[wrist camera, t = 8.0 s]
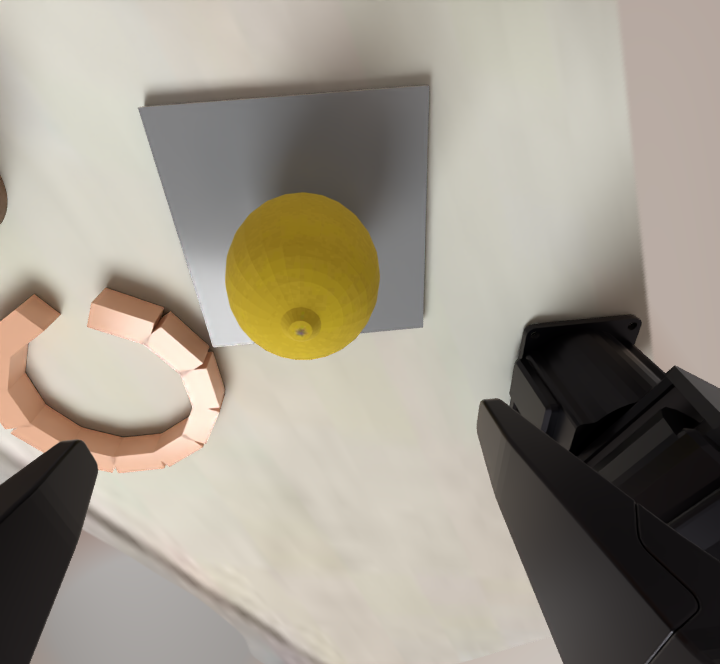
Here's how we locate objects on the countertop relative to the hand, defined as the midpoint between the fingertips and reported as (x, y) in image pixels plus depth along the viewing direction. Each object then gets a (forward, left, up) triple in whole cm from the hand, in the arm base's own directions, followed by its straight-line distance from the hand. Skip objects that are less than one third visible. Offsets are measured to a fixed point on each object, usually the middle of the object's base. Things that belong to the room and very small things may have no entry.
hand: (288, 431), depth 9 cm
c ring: (+11, +7, -12) cm, 18 cm away
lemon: (0, 0, -12) cm, 12 cm away
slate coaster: (0, 0, -12) cm, 12 cm away
